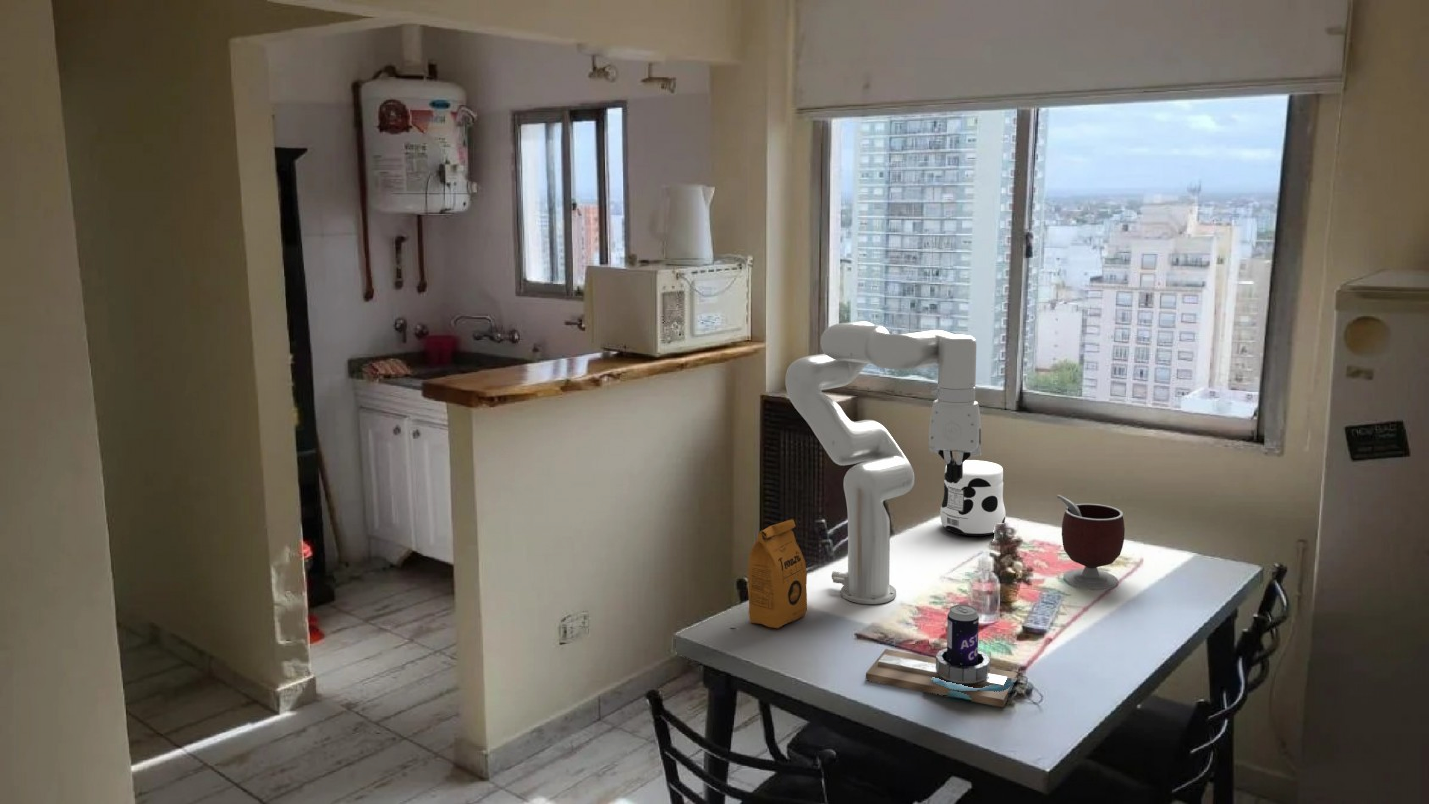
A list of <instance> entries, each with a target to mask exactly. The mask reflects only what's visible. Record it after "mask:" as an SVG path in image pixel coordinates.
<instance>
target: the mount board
mask: <svg viewBox="0 0 1429 804" xmlns="http://www.w3.org/2000/svg"><path fill="white" fill-rule="evenodd" d="M884 654H885V655H890V656H896V657H901V658H906V659H912V660H917V661H923V662H928V663H934V664H936V657H934V656H933V657H931V656H926V655H921V654H916V653H911V652H906V651H905V652H904V651H899V650H894V649H889V648H885V649H884V650H883V651H882V653H881V654H880V655H879V657H877V659H876V660H875V661H874V663H873V664H872V665H871V666H870V667H869V668H868V670H867V671H866V673H865V680H866V679H867V680H871V681H874V682H873V683H877V682H880V683H879V684H882V683H884V684H883V685H887V686H893V687H897V688H898V687H899V688H903V689H908V690H912V691H913V690H914V691H916V692H917V691H919V692H921V693H922V692H924V693H928V694H932V693H933V695H937V694H939V695H938V696H943V695H947V694H949V693H948V691H951V690H952V689H949V688H946V687H944V686H941V685H938V684H936V683H934V682H933V680H931V679H930V678H932V677H935V678H939V679H941V680H944V679H942V678H941V677H938V676H933V675H927V674H922V673H917V672H911V671H906V670H901V669H896V668H890V667H885V666H880V665H878V661H879V660H880V658H881V657H882V656H883V655H884ZM989 674H993V675H999V676H1004V677H1007V678H1013V679H1015V678H1016V677H1017V678H1018V672H1015V671H1009V670H1004V669H999V668H993V667H990V672H989ZM871 681H870V682H871ZM944 681H946V680H944ZM946 682H949V681H946ZM962 685H964V686H968V687H973V688H983V687H985V685H980V684H967V685H966V684H962ZM1010 687H1011V686H1010ZM1010 687H1009V688H1008V689H1006V690H1004V691H1003V690H1002V691H1000V692H999V691H997V692H996V691H995V692H994V691H983V690H982V691H981V690H977V691H959V690H954V689H953V690H952V691H957V692H961V693H964V694H967V695H969V697H970V698H972V699H971V701H970V702H973V703H977V704H984V705H988V706H989V705H990V706H994V707H1000V708H1004V707H1005V706H1006V703H1007V701H1008V699H1007V697H1008V693H1009V689H1010ZM934 693H935V694H934ZM1008 698H1009V697H1008Z"/></svg>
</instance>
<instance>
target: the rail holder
mask: <svg viewBox="0 0 1429 804" xmlns="http://www.w3.org/2000/svg"><path fill="white" fill-rule="evenodd" d="M935 658H936V664H934V663H928V662H923V661H917V660H912V659H906V658H901V657H896V656H890V655H885V654H884V655H883V656H882V657H881V658H880V660H879V661H878V665H880V666H885V667H890V668H896V669H901V670H906V671H911V672H917V673H922V674H927V675H933V676H938V677H941V678H942V679H944V680H946V681H949V682H952V683H956V684H966V685H967V684H980V685H985V686H989V685H993V684H994V685H995V684H998V685H1000V686H1001V687H1004V684H1005V682H1006V680H1007V677H1004V676H999V675H993V674H989V672H990V668H991V659H990V657H989V656H988V655H987V653H985V652H983V651H981V650H980V649H978V663H977V665H976V666H966V667H962V666H957V665H952V664H950V663H948V662H947V647H946V648H943V649H940V650H938V652H937V653H936V655H935Z"/></svg>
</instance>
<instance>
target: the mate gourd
mask: <svg viewBox="0 0 1429 804" xmlns="http://www.w3.org/2000/svg"><path fill="white" fill-rule="evenodd" d="M1056 498H1057V499H1059V500H1061V501H1062V502H1063V503H1064V504H1065V505H1066V507H1065V509H1064V511H1065V512H1064V514H1063V518H1062V523H1061V541H1062V546H1063V547H1062V548H1063V550H1064V551H1065V553H1066V555H1067V556H1068V557H1069V559H1070V560H1071V561H1073V562H1074V563H1076V564H1079V565H1082V566H1084V568H1081V569H1080V568H1079V569H1071V570H1069V571H1066V572H1064V574H1063V576H1062V577H1063V581H1064V582H1065V584H1067V583H1068V584H1067V585H1069V586H1072V587H1074V588H1079V589H1082V590H1088V589H1090V591H1107V590H1112V589H1114V588H1116V587H1118V585H1119V579H1118V577H1117V576H1115V575H1113V574H1111V573H1108V572H1106V571H1102V570H1098V568H1101V567H1105V566H1109V565H1112V564H1113V563H1114V562H1115V561H1116V560H1117V558H1119V557H1120V555H1121V553H1122V550H1123V548H1124V547H1123V546H1124V542H1125V532H1126V530H1125V529H1126V528H1125V519H1124V513H1123V511H1122V510H1121V509H1119V508H1116V507H1113V506H1110V505H1105V504H1099V503H1078V504H1077V503H1074V502H1073V501H1071V500H1070V499H1068V498H1066V497H1065V496H1063V495H1061V494H1057V495H1056ZM1104 589H1105V590H1104ZM1106 589H1107V590H1106Z"/></svg>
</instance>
